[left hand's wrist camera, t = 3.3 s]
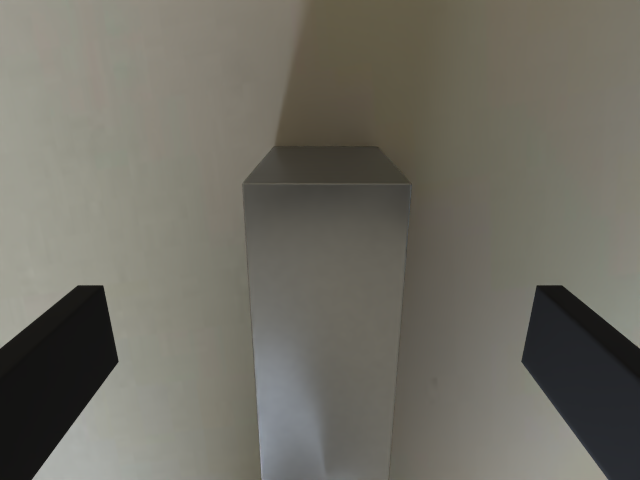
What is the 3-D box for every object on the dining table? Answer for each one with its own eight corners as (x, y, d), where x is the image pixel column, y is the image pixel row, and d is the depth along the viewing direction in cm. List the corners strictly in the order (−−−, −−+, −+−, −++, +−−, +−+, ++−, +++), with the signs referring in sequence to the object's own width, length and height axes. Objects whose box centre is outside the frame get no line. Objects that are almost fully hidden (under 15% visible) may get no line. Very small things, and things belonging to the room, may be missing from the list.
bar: (273, 146, 23) (241, 183, 14) (378, 146, 23) (412, 183, 14) (286, 499, 32) (272, 653, 23) (361, 500, 32) (375, 654, 23)
